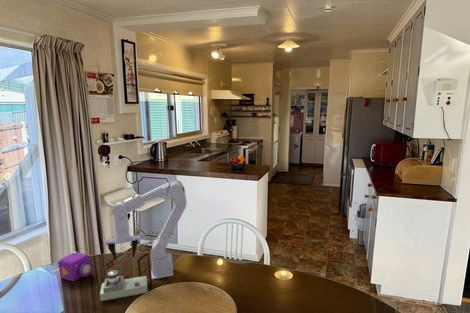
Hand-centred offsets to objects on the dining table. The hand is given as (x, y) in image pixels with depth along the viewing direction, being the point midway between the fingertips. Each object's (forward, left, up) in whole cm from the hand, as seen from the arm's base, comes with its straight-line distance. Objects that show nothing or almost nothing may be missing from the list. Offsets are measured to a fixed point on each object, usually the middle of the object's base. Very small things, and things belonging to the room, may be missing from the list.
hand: (124, 257), depth 136 cm
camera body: (0, +11, -9) cm, 14 cm away
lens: (+4, +11, -6) cm, 13 cm away
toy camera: (+21, -8, -10) cm, 25 cm away
